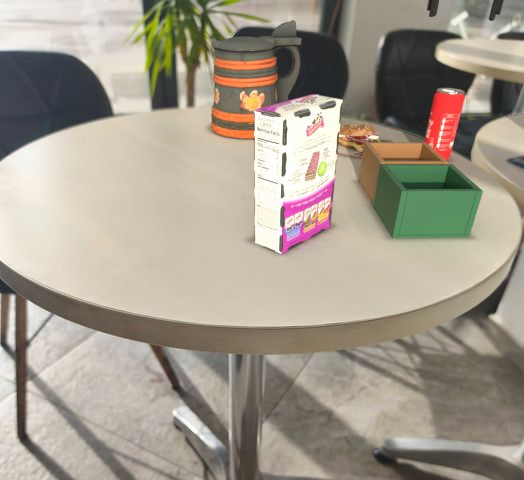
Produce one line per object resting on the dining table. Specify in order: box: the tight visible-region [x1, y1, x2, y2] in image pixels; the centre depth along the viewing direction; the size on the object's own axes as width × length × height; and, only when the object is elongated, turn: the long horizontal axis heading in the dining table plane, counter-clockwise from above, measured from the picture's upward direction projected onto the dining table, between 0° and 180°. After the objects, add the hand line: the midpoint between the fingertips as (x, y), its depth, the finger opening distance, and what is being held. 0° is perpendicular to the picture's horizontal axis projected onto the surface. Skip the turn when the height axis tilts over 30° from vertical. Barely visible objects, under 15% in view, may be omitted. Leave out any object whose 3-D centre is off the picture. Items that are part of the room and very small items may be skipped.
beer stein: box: [210, 19, 303, 140], centre depth 102 cm, size 19×15×20 cm
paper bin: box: [358, 141, 450, 205], centre depth 77 cm, size 10×10×7 cm
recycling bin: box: [372, 163, 484, 239], centre depth 68 cm, size 11×11×7 cm
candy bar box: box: [253, 93, 344, 255], centre depth 61 cm, size 11×5×16 cm, turn 139°
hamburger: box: [337, 123, 382, 159], centre depth 96 cm, size 14×14×6 cm
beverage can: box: [423, 87, 466, 161], centre depth 90 cm, size 5×5×12 cm
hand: (461, 18), depth 83 cm, fingers open, 9 cm apart
